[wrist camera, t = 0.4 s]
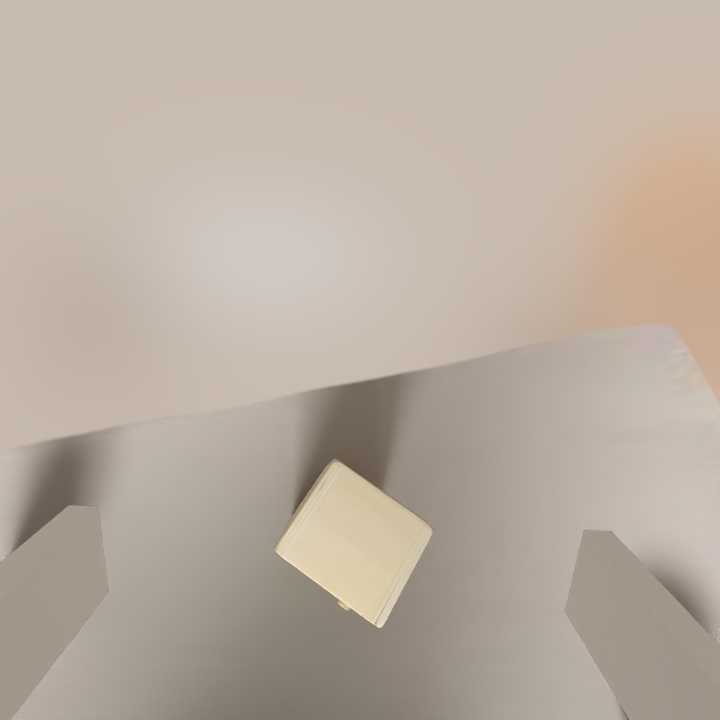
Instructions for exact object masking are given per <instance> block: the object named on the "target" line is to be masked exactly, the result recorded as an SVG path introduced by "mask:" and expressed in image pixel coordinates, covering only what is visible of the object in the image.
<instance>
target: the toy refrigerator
mask: <svg viewBox="0 0 720 720" xmlns="http://www.w3.org/2000/svg"><path fill="white" fill-rule="evenodd" d="M433 530H434V529H433V527H432V526H431V525H430V524H429V523H428V522H426V521H425V520H424V519H422V518H421V517H419V516H418V515H417V514H415V513H414V512H412V511H411V510H409V509H408V508H407V507H405V506H404V505H402V504H401V503H399V502H398V501H397V500H395V499H394V498H392V497H391V496H389V495H388V494H386V493H385V492H384V491H382V490H381V489H379V488H378V487H376V486H375V485H374V484H372V483H371V482H369V481H368V480H366V479H365V478H364V477H362V476H361V475H359V474H358V473H356V472H355V471H353V470H352V469H351V468H349V467H348V466H346V465H345V464H343V463H342V462H341V461H339V460H337V459H333V460H332V461H331V462H330V463H329V464H328V465H327V466H325V468H324V469H323V471H322V472H321V474H320V475H319V477H318V478H317V480H316V481H315V483H314V484H313V486H312V487H311V488H310V490H309V492H308V493H307V495H306V496H305V497H304V499H303V500H302V502H301V503H300V505H299V506H298V508H297V509H296V511H295V512H294V514H293V515H292V517H291V519H290V520H289V522H288V524H287V526H286V528H285V530H284V531H283V533H282V535H281V537H280V539H279V541H278V543H277V545H276V547H275V551H276V553H278V554H279V555H280V556H281V557H282V558H284V559H285V560H286V561H288V562H289V563H290V564H292V565H293V566H294V567H296V568H297V569H299V570H300V571H301V572H303V573H304V574H305V575H307V576H308V577H309V578H311V579H312V580H313V581H315V582H316V583H317V584H319V585H320V586H322V587H323V588H324V589H326V590H327V591H328V592H330V593H331V594H332V595H334V596H335V597H336V598H337V602H338V604H339V605H340V606H341V607H343V608H344V609H345V610H347V611H348V610H349V609H350V608H351V609H353V610H354V611H356V612H357V613H358V614H360V615H361V616H362V617H364V618H365V619H366V620H368V621H369V622H371V623H372V624H374V625H375V626H377V627H378V628H381V627H382V626H383V625H384V623H385V621H386V619H387V618H388V616H389V614H390V612H391V610H392V608H393V607H394V605H395V603H396V601H397V599H398V597H399V596H400V594H401V592H402V590H403V588H404V586H405V584H406V582H407V581H408V579H409V577H410V575H411V573H412V571H413V569H414V567H415V566H416V564H417V562H418V560H419V558H420V556H421V555H422V553H423V551H424V549H425V547H426V545H427V543H428V541H429V539H430V537H431V535H432V533H433Z"/></svg>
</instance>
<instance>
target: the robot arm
mask: <svg viewBox="0 0 720 720" xmlns="http://www.w3.org/2000/svg"><path fill="white" fill-rule="evenodd" d="M108 592H109V590H108V582H107V574H106V566H105V558H104V549H103V541H102V533H101V525H100V517H99V509H98V507H97V506H76V505H69V506H67V507H66V508H65V509H64V510H63V511H61V512H60V513H59V514H58V515H57V516H55V517H54V518H53V519H52V520H51V521H49V522H48V523H47V524H46V525H45V526H43V527H42V528H41V529H40V530H39V531H37V532H36V533H35V534H34V535H33V536H31V537H30V538H29V539H28V540H27V541H25V542H24V543H23V544H22V545H21V546H19V547H18V548H17V549H16V550H15V551H13V552H12V553H11V554H10V555H9V556H7V557H6V558H5V559H4V560H3V561H1V562H0V720H11V719H12V718H13V716H14V715H15V714H16V712H17V711H18V710H19V708H20V707H21V706H22V704H23V703H24V702H25V701H26V699H27V698H28V697H29V695H30V694H31V693H32V691H33V690H34V689H35V687H36V686H37V685H38V683H39V682H40V681H41V680H42V678H43V677H44V676H45V674H46V673H47V672H48V670H49V669H50V668H51V666H52V665H53V664H54V662H55V661H56V660H57V659H58V657H59V656H60V655H61V653H62V652H63V651H64V649H65V648H66V647H67V645H68V644H69V643H70V641H71V640H72V639H73V638H74V636H75V635H76V634H77V632H78V631H79V630H80V628H81V627H82V626H83V624H84V623H85V622H86V620H87V619H88V618H89V617H90V615H91V614H92V613H93V611H94V610H95V609H96V607H97V606H98V605H99V603H100V602H101V601H102V599H103V598H104V597H105V596H106V594H107V593H108ZM565 613H566V614H567V616H568V618H569V619H570V621H571V623H572V624H573V626H574V628H575V629H576V631H577V633H578V634H579V636H580V638H581V639H582V641H583V643H584V644H585V646H586V648H587V649H588V651H589V653H590V654H591V656H592V658H593V660H594V661H595V663H596V665H597V666H598V668H599V670H600V671H601V673H602V675H603V676H604V678H605V680H606V681H607V683H608V685H609V686H610V688H611V690H612V691H613V693H614V695H615V696H616V698H617V700H618V701H619V703H620V705H621V706H622V708H623V710H624V711H625V713H626V715H627V716H628V718H629V720H720V645H719V644H718V643H717V642H716V641H715V639H714V638H713V637H712V636H711V635H710V634H709V633H708V632H707V631H706V630H705V629H704V628H703V627H702V626H701V625H700V624H699V623H698V622H697V621H696V619H695V618H694V617H693V616H692V615H691V614H690V613H689V612H688V611H687V610H686V609H685V608H684V607H683V606H682V605H681V604H680V603H679V602H678V601H677V600H676V598H675V597H674V596H673V595H672V594H671V593H670V592H669V591H668V590H667V589H666V588H665V587H664V586H663V585H662V584H661V583H660V582H659V581H658V580H657V578H656V577H655V576H654V575H653V574H652V573H651V572H650V571H649V570H648V569H647V568H646V567H645V566H644V565H643V564H642V563H641V562H640V561H639V560H638V559H637V557H636V556H635V555H634V554H633V553H632V552H631V551H630V550H629V549H628V548H627V547H626V546H625V545H624V544H623V543H622V542H621V541H620V540H619V539H618V537H617V536H616V535H615V534H614V533H613V532H612V531H597V530H584V532H583V536H582V540H581V544H580V549H579V553H578V557H577V561H576V565H575V570H574V574H573V578H572V582H571V587H570V591H569V595H568V599H567V603H566V608H565Z"/></svg>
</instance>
